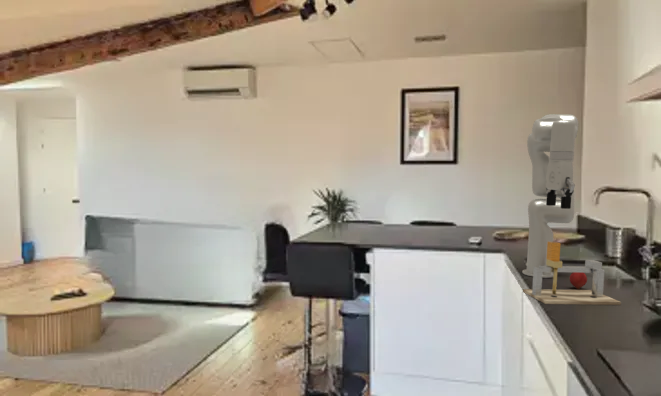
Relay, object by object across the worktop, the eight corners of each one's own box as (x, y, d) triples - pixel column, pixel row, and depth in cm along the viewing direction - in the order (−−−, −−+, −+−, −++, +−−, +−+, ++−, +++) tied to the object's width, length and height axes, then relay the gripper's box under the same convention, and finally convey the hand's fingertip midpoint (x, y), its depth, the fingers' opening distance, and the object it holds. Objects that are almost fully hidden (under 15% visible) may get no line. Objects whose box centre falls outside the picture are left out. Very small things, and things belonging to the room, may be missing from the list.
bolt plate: (522, 291, 187) (523, 288, 187) (592, 292, 189) (592, 289, 189) (545, 303, 171) (545, 300, 171) (620, 304, 173) (620, 301, 173)
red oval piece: (567, 288, 194) (568, 267, 194) (571, 286, 199) (572, 265, 198) (584, 291, 191) (585, 269, 190) (587, 289, 195) (589, 267, 195)
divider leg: (544, 290, 180) (547, 241, 179) (552, 291, 181) (556, 241, 180) (551, 294, 176) (555, 243, 174) (560, 294, 176) (563, 243, 175)
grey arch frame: (531, 293, 180) (534, 258, 179) (598, 294, 182) (600, 260, 181) (538, 297, 175) (540, 261, 174) (606, 298, 177) (609, 262, 177)
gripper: (538, 156, 187) (535, 204, 189) (564, 157, 170) (560, 209, 172) (559, 157, 188) (555, 204, 189) (586, 157, 171) (582, 210, 172)
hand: (558, 206), depth 181 cm, fingers open, 9 cm apart
